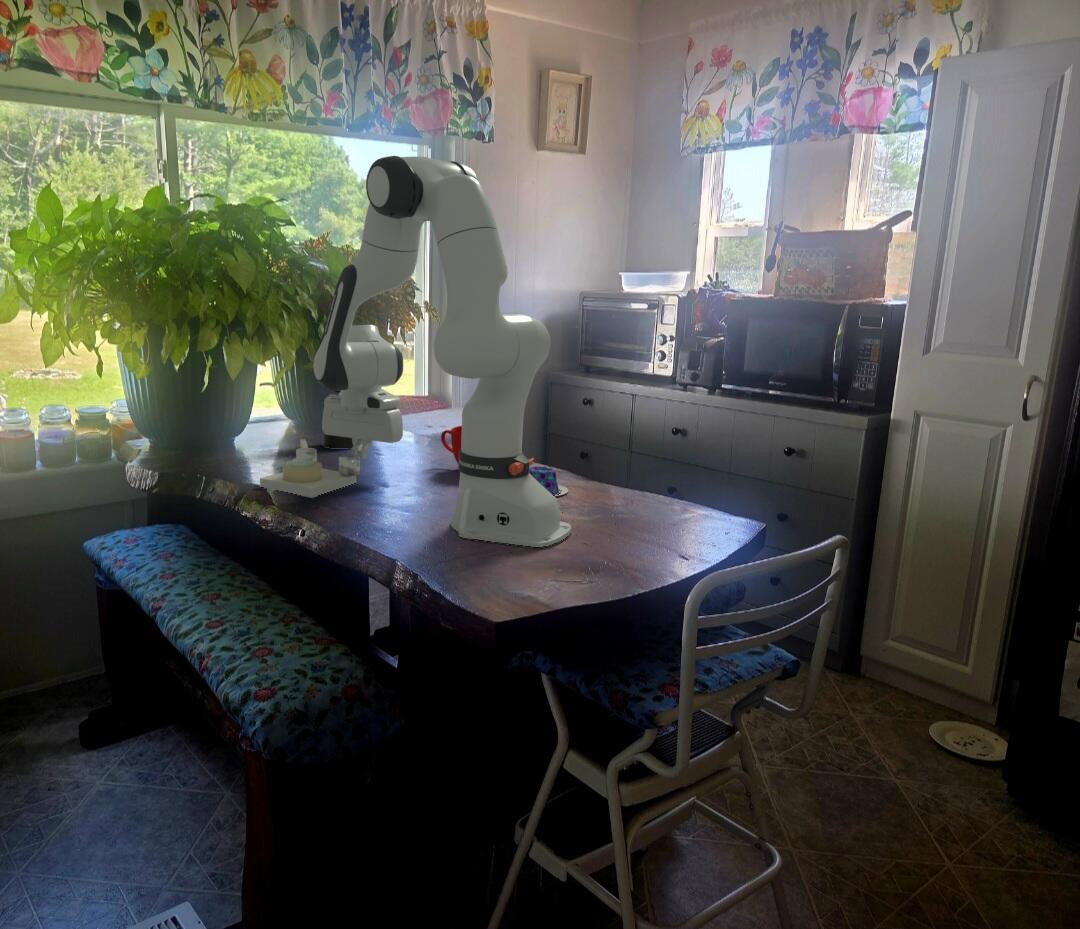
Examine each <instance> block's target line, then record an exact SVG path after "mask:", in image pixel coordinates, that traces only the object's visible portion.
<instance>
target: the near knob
mask: <svg viewBox="0 0 1080 929" xmlns="http://www.w3.org/2000/svg"><path fill="white" fill-rule="evenodd" d="M338 471H339V474H340V475H343V476H355V475H356V476H359V475H360V474H361V458H360V457H359V456H357V450H356V449H355V447H354V446H353V447H352V449H350V451H349V453H348V454H344V455H340V456H338Z"/></svg>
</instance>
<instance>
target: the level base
mask: <svg viewBox="0 0 1080 929" xmlns="http://www.w3.org/2000/svg"><path fill="white" fill-rule="evenodd" d="M281 467H282V470H281V471H282V472H277V473H273V474H270V475H267V476H264V477H259V484H260V485H259V487H260V488H261V487H264V488H263V489H266V488H268V489H267V490H271V489H274V490H273V491H275V490H279V491H278V492H280V491H284V492H283V493H285V492H288V493H287V494H290V493H293V494H292V495H295V494H297V495H296V496H300V495H301V497H306V498H310V499H313V498H316V497H319V496H318V495H320V496H322V495H321V494H323V495H325V494H324V493H326V494H328V493H327V492H329V493H331V492H330V491H332V492H334V491H333V490H335V491H337V490H336V489H338V490H340V489H339V488H341V489H343V488H342V487H344V488H346V487H345V486H347V487H349V486H348V485H350V486H352V485H351V484H353V485H355V484H354V483H356V484H357V475H355V476H343V475H340V474H339V470H338V471H337V470H333V469H327V468H323V463H322V462H320V461H318V460H317V461H314V460H310V459H296V457H295V458H293V459H292V460H289V461H285V462H283V463H282V464H281Z"/></svg>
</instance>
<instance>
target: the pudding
mask: <svg viewBox="0 0 1080 929" xmlns="http://www.w3.org/2000/svg"><path fill="white" fill-rule="evenodd" d="M529 471H530V472H529V473H530V474H531V475H532V476H533V477H534V478H535V479H536V480H537V481H538V482H539V483H540V484H541V485H542V486H543V487H544V488H545V489H546V490H548V491H549V492H550V493H551V494H552V495H555V496H554V497H559V496H563V495H565V494H567V493H568V492H569V489H568V488H567V487H566V486H564V485H561V484H559V483H558V479H557V474H556V471H555V469H554V468H552V467H549V466H533V467H532V466H531V467H529ZM559 489H560V490H562V492H561V494H559V493H560V491H559ZM556 493H558V494H559V495H557V494H556Z"/></svg>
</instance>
